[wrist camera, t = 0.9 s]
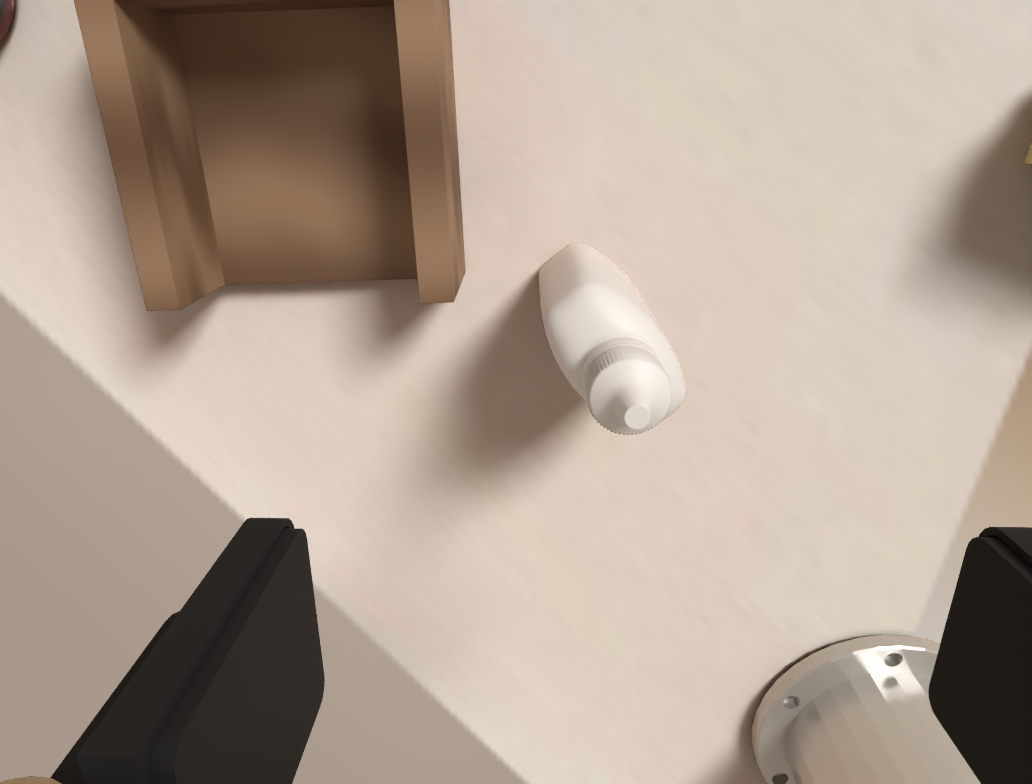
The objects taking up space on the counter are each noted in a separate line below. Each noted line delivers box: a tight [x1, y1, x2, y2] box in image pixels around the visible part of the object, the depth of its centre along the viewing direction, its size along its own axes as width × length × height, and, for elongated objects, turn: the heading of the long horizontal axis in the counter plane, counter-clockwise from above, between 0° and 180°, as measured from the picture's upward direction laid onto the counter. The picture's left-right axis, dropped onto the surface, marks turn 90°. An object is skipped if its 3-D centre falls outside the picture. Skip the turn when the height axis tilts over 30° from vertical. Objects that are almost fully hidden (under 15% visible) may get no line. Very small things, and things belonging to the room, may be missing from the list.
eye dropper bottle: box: [539, 243, 686, 435], centre depth 24 cm, size 4×6×12 cm
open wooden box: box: [74, 0, 465, 311], centre depth 25 cm, size 11×11×5 cm
